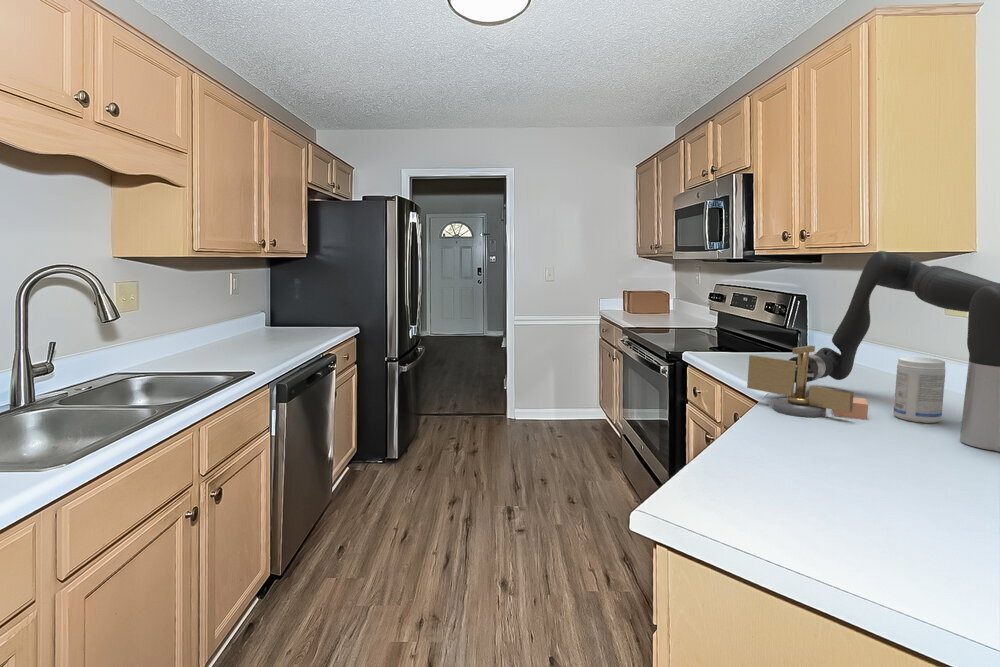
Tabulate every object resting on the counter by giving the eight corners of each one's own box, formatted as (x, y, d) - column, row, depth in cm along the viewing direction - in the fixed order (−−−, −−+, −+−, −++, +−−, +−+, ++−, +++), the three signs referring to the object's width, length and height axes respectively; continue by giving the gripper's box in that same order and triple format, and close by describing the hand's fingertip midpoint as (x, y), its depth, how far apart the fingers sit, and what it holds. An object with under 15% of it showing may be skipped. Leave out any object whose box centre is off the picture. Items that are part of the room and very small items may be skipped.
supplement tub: (944, 419, 141) (950, 360, 140) (936, 426, 135) (943, 364, 133) (897, 411, 148) (903, 355, 147) (887, 418, 142) (893, 359, 140)
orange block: (863, 414, 146) (865, 398, 146) (866, 420, 140) (868, 404, 140) (831, 410, 149) (833, 395, 149) (833, 416, 143) (835, 401, 143)
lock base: (834, 412, 146) (835, 405, 146) (811, 419, 139) (812, 411, 139) (787, 403, 156) (788, 396, 155) (763, 409, 149) (764, 401, 148)
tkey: (858, 409, 140) (864, 351, 138) (842, 415, 135) (847, 354, 133) (756, 390, 161) (760, 339, 159) (738, 394, 155) (742, 341, 154)
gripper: (783, 352, 169) (751, 357, 158) (831, 358, 158) (799, 364, 148) (781, 377, 170) (749, 384, 159) (828, 385, 159) (797, 393, 149)
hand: (773, 374), depth 154 cm, fingers closed
